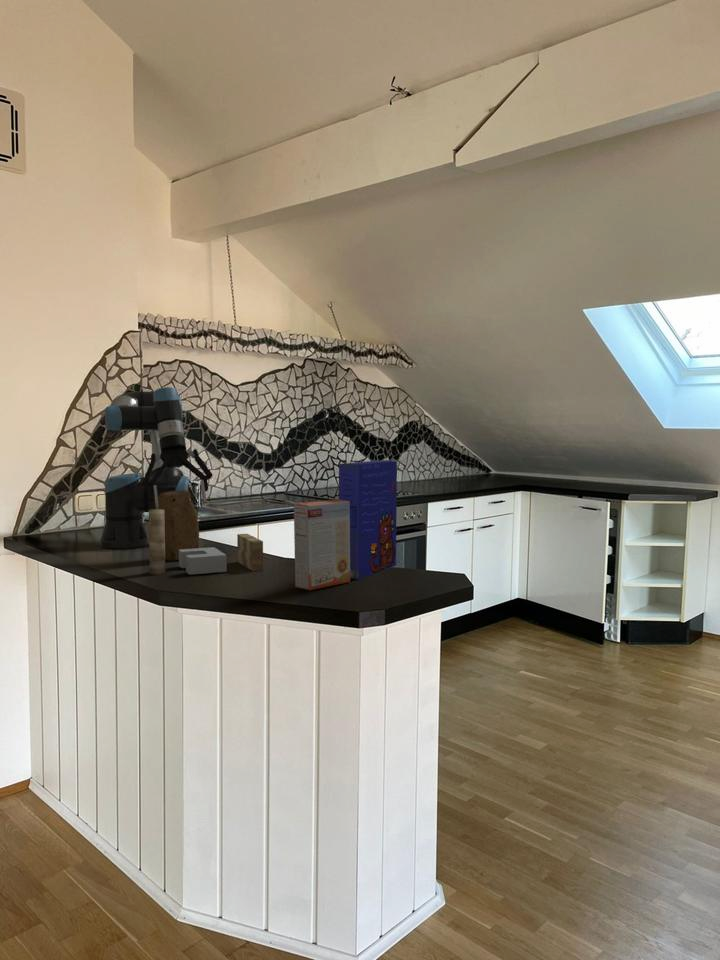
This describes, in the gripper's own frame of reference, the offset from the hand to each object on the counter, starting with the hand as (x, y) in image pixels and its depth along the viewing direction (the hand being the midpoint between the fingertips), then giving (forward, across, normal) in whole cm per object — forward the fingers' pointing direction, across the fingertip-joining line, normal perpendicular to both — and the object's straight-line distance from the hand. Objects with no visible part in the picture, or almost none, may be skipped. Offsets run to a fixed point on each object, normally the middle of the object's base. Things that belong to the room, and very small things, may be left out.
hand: (181, 505), depth 219 cm
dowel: (+21, -10, -15) cm, 28 cm away
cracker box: (+34, +27, -40) cm, 59 cm away
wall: (+22, +15, -12) cm, 30 cm away
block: (+15, -2, +4) cm, 16 cm away
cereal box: (+31, +44, -28) cm, 61 cm away
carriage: (+22, +2, -14) cm, 26 cm away
